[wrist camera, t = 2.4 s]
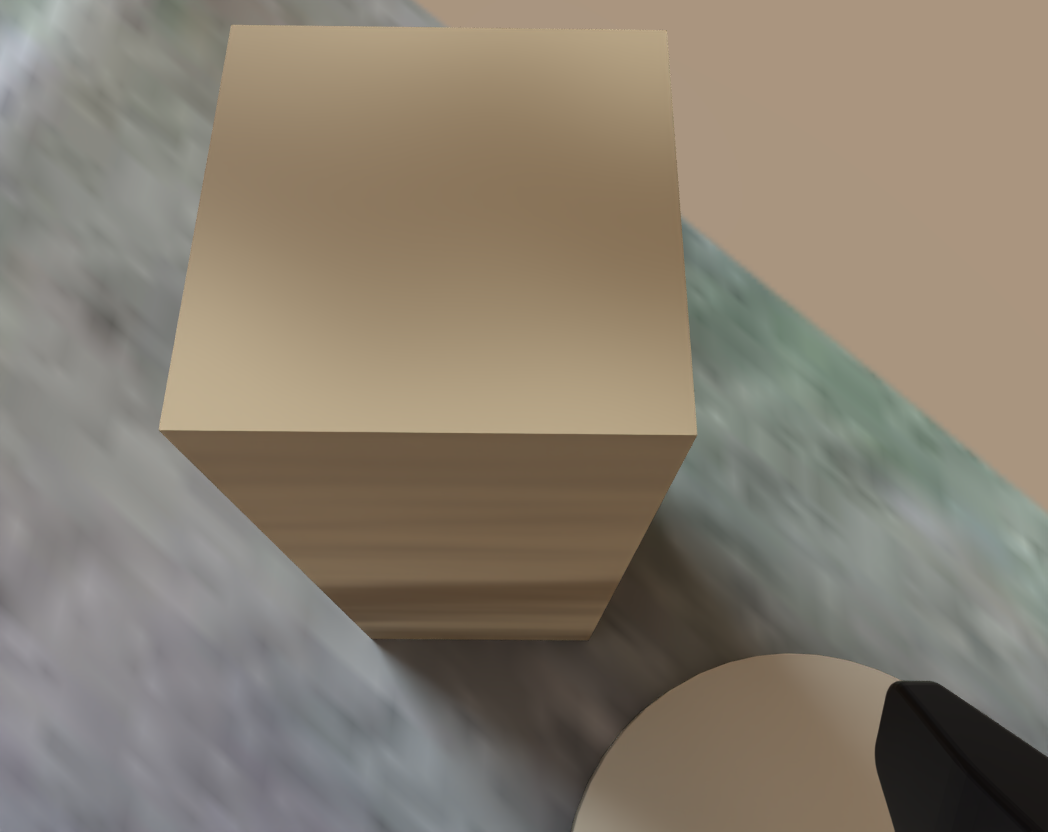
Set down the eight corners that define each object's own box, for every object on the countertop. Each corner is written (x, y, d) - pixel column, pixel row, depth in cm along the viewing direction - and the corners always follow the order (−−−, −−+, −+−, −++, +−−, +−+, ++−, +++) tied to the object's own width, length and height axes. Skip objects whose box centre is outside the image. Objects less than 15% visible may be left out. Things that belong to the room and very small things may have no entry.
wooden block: (588, 640, 20) (696, 435, 8) (371, 638, 20) (158, 430, 8) (584, 438, 22) (666, 30, 10) (385, 436, 22) (231, 25, 10)
